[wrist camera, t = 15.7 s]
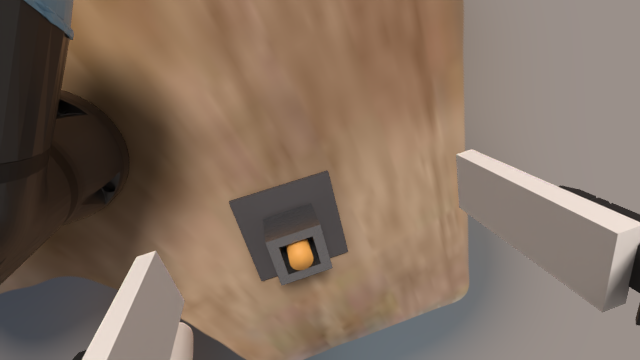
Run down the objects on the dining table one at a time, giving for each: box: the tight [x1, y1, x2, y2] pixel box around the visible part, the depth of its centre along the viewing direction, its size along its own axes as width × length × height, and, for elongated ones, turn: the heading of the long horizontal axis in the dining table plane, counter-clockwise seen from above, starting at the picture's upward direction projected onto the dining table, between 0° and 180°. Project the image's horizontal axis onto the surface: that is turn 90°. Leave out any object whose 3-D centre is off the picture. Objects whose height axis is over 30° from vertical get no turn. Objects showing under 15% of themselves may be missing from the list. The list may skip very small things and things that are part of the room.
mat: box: [229, 171, 348, 281], centre depth 46 cm, size 14×14×1 cm
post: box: [286, 238, 313, 270], centre depth 42 cm, size 5×5×8 cm
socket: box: [263, 203, 332, 285], centre depth 43 cm, size 7×7×6 cm
